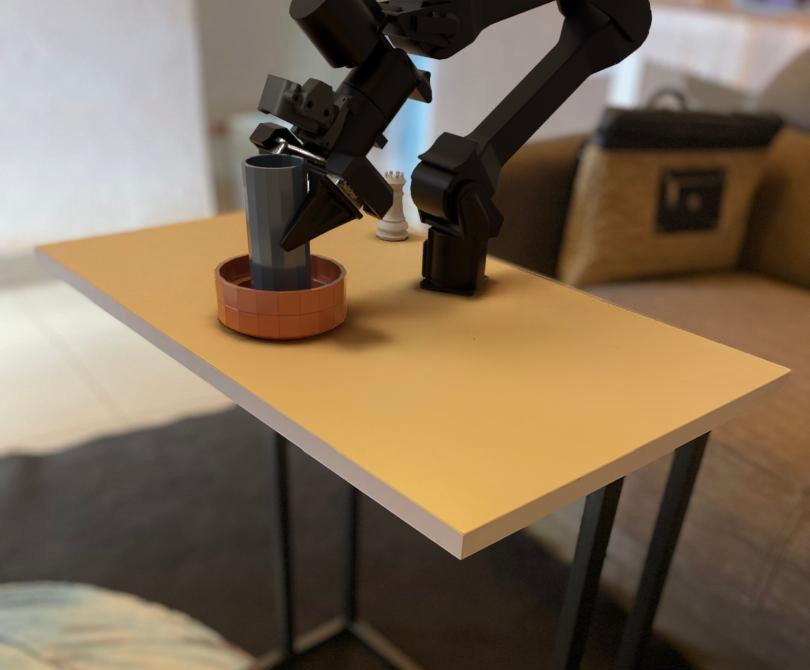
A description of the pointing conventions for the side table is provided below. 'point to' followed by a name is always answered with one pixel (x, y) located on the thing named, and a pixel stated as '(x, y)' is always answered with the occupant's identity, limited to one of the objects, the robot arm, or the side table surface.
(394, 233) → the rook chess piece
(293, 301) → the bowl
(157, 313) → the side table surface
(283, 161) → the vase
